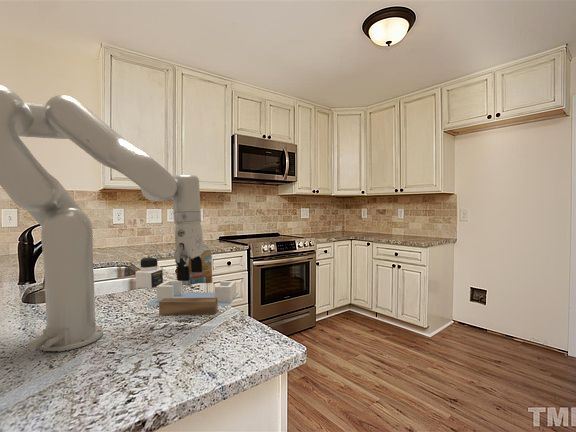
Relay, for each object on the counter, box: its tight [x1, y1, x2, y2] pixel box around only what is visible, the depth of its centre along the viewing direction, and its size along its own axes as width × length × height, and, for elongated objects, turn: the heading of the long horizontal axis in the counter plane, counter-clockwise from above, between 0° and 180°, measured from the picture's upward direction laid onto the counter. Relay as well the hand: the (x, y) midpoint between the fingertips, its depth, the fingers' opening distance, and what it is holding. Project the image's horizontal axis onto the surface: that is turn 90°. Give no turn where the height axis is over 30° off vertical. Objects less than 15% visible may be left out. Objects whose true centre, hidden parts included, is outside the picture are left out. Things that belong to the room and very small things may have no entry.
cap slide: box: [155, 279, 183, 302], centre depth 102 cm, size 8×5×5 cm, turn 176°
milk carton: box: [175, 243, 213, 286], centre depth 125 cm, size 11×10×19 cm
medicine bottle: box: [135, 256, 164, 289], centre depth 119 cm, size 7×7×12 cm
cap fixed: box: [214, 280, 237, 303], centre depth 100 cm, size 7×5×5 cm
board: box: [144, 291, 239, 307], centre depth 101 cm, size 14×27×1 cm, turn 86°
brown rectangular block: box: [158, 298, 219, 316], centre depth 88 cm, size 4×16×5 cm, turn 90°
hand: (190, 276), depth 88 cm, fingers open, 9 cm apart
